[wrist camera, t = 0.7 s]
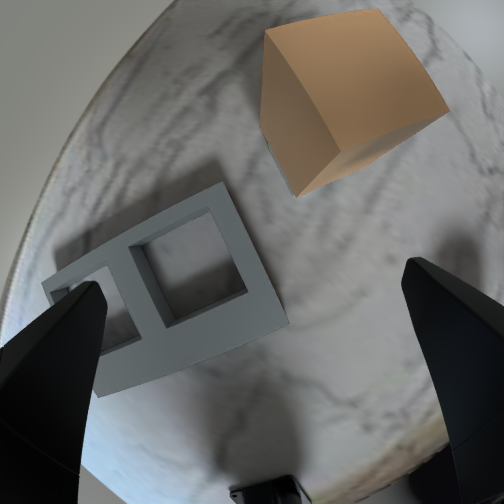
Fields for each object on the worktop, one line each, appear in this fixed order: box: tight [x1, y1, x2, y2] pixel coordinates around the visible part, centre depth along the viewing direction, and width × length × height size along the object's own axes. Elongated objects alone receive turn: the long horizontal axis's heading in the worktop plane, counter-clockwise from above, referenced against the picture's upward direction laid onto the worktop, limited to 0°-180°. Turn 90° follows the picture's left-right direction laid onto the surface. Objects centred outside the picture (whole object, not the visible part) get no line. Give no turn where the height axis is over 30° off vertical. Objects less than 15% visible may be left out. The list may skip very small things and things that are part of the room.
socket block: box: [41, 181, 290, 398], centre depth 20 cm, size 10×16×2 cm, turn 115°
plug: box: [260, 9, 450, 198], centre depth 14 cm, size 5×5×13 cm
